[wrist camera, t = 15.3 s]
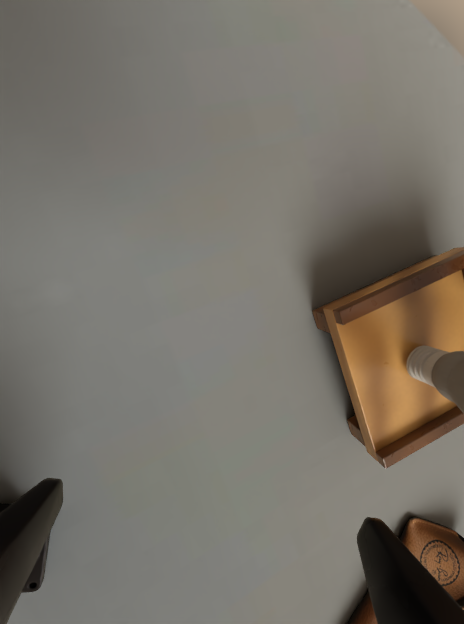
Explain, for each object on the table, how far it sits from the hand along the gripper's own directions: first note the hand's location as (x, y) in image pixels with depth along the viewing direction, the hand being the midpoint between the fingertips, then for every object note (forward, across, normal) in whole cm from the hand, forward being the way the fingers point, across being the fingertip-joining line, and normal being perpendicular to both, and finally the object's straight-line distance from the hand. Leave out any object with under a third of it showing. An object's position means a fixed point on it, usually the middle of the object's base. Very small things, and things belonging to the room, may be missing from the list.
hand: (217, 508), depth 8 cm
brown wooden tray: (+15, -15, 0) cm, 21 cm away
